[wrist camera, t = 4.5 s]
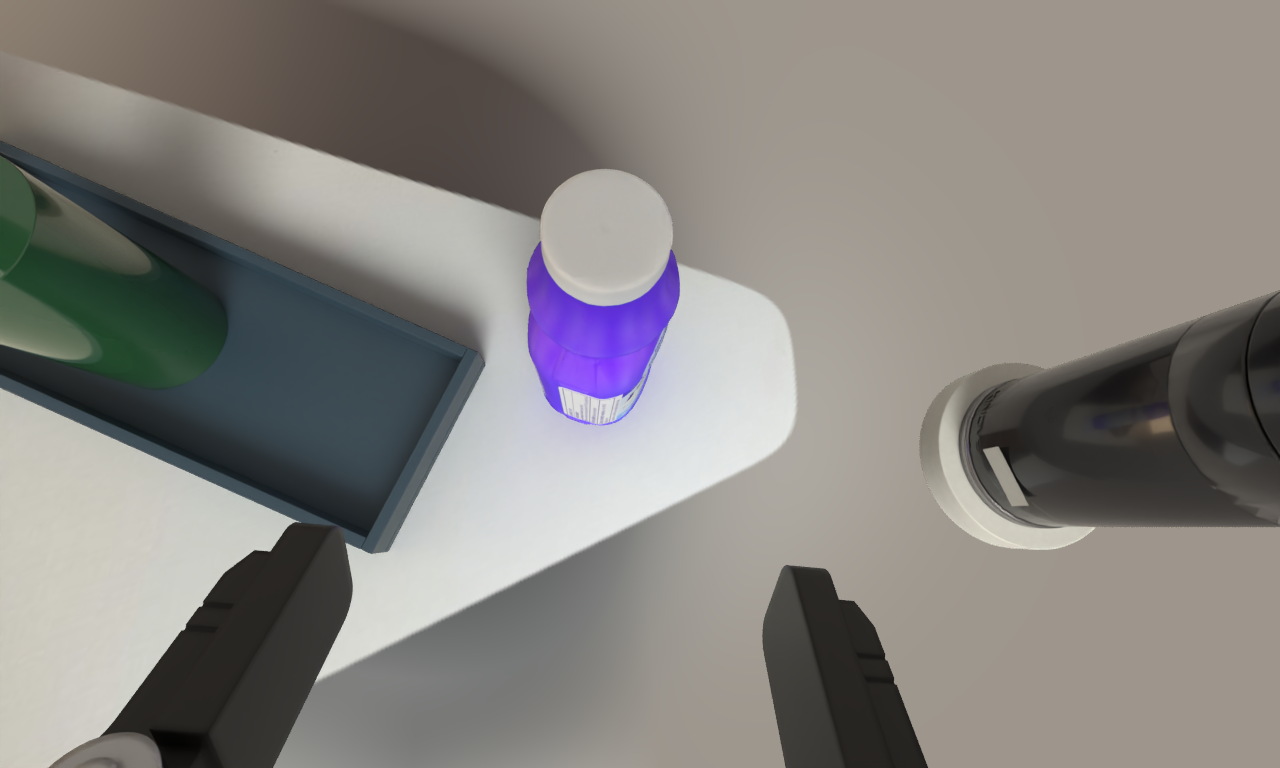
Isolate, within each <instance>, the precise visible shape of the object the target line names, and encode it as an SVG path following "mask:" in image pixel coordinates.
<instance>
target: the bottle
mask: <svg viewBox="0 0 1280 768" xmlns="http://www.w3.org/2000/svg"><path fill="white" fill-rule="evenodd" d="M540 237H541V241H540V243H539V244H538V246H537V247H536V249H535V250H534V253H533V255H532V257H531V259H530V262H529V266H528V268H527V296H528V300H529V305H530V309H531V310H530V314H529V323H528V348H529V352H530V356H531V358H532V361H533V363H534V365H535V368H536V371H537V374H538V376H539V379H540V382H541V385H542V388H543V392H544V395H545V397H546V399H547V400H548V402H549V403H550V405H551V406H552V407H553V408H554V409H555V410H557V411H558V412H560V413H562V414H564V415H565V416H566V417H567V418H569V419H572V420H575V421H578V422H581V423H584V424H595V425H608V424H612V423H615V422H617V421H619V420H621V419H622V418H623V417H624V416H626V415H627V414H628V413H629V411H630V410H631V409H632V408H633V407H634V405H635V403H636V402H637V400H638V398H639V397H640V395H641V392H642V390H643V388H644V386H645V383H646V381H647V378H648V375H649V372H650V368H651V364H652V362H653V360H654V359H655V356H656V354H657V352H658V350H659V348H660V346H661V343H662V341H663V338H664V335H665V332H666V329H667V325H668V323H669V321H670V319H671V317H672V316H673V314H674V312H675V309H676V307H677V303H678V300H679V295H680V282H679V272H678V267H677V263H676V259H675V255H674V253H673V251H672V250H671V246H672V241H673V224H672V219H671V216H670V213H669V210H668V208H667V206H666V204H665V202H664V200H663V199H662V197H661V196H660V195H659V194H658V192H657V191H656V190H655V189H654V188H653V187H652V186H651V185H649V184H648V183H647V182H645V181H644V180H642V179H640V178H639V177H637V176H635V175H633V174H630V173H627V172H624V171H620V170H614V169H596V170H590V171H585V172H583V173H580V174H577V175H575V176H573V177H571V178H569V179H568V180H567V181H565V182H564V183H562V184H561V185H560V186H559V187H558V188H557V189H556V190H555V191H554V192H553V194H552V195H551V196H550V198H549V199H548V201H547V202H546V204H545V207H544V209H543V212H542V216H541V221H540Z"/></svg>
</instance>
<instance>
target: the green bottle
mask: <svg viewBox="0 0 1280 768" xmlns="http://www.w3.org/2000/svg"><path fill="white" fill-rule="evenodd" d="M227 330H228V320H227V315H226V311H225V309H224V306H223V304H222V302H221V301H220V299H219V298H218V297H217V295H216V294H215V293H214V292H213V291H212V290H211V289H209V288H208V287H206V286H205V285H204V284H202V283H200V282H199V281H197V280H196V279H194V278H192V277H191V276H189V275H188V274H186V273H185V272H183V271H181V270H180V269H178V268H177V267H175V266H174V265H172V264H170V263H169V262H167V261H166V260H164V259H163V258H161V257H159V256H158V255H156V254H155V253H153V252H152V251H150V250H148V249H147V248H145V247H144V246H142V245H141V244H139V243H137V242H136V241H134V240H133V239H131V238H130V237H128V236H126V235H125V234H123V233H122V232H120V231H119V230H117V229H115V228H114V227H112V226H111V225H109V224H108V223H106V222H104V221H103V220H101V219H100V218H98V217H97V216H95V215H93V214H92V213H90V212H89V211H87V210H86V209H84V208H82V207H81V206H79V205H78V204H76V203H75V202H73V201H71V200H70V199H68V198H67V197H65V196H64V195H62V194H60V193H59V192H57V191H56V190H54V189H53V188H51V187H49V186H48V185H46V184H45V183H43V182H42V181H40V180H38V179H37V178H35V177H34V176H32V175H31V174H29V173H27V172H26V171H24V170H23V169H21V168H20V167H18V166H16V165H15V164H13V163H12V162H10V161H9V160H7V159H5V158H4V157H2V156H0V345H2V346H5V347H8V348H11V349H15V350H18V351H21V352H24V353H27V354H31V355H34V356H37V357H40V358H43V359H47V360H50V361H53V362H56V363H60V364H63V365H66V366H69V367H72V368H76V369H79V370H82V371H85V372H88V373H92V374H95V375H98V376H101V377H105V378H108V379H111V380H114V381H117V382H121V383H124V384H127V385H130V386H133V387H137V388H141V389H148V390H163V389H169V388H173V387H177V386H180V385H183V384H185V383H188V382H189V381H191V380H193V379H195V378H197V377H198V376H200V375H201V374H202V373H203V372H205V371H206V370H207V369H208V368H209V367H210V366H211V365H212V364H213V363H214V361H215V360H216V359H217V357H218V356H219V354H220V352H221V351H222V349H223V346H224V344H225V341H226V337H227Z"/></svg>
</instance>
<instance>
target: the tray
mask: <svg viewBox="0 0 1280 768" xmlns="http://www.w3.org/2000/svg"><path fill="white" fill-rule="evenodd" d="M0 156H2V157H4V158H5V159H7V160H9V161H10V162H12V163H13V164H15V165H16V166H18V167H20V168H21V169H23V170H24V171H26V172H27V173H29V174H31V175H32V176H34V177H35V178H37V179H38V180H40V181H42V182H43V183H45V184H46V185H48V186H49V187H51V188H53V189H54V190H56V191H57V192H59V193H60V194H62V195H64V196H65V197H67V198H68V199H70V200H71V201H73V202H75V203H76V204H78V205H79V206H81V207H82V208H84V209H86V210H87V211H89V212H90V213H92V214H93V215H95V216H97V217H98V218H100V219H101V220H103V221H104V222H106V223H108V224H109V225H111V226H112V227H114V228H115V229H117V230H119V231H120V232H122V233H123V234H125V235H126V236H128V237H130V238H131V239H133V240H134V241H136V242H137V243H139V244H141V245H142V246H144V247H145V248H147V249H148V250H150V251H152V252H153V253H155V254H156V255H158V256H159V257H161V258H163V259H164V260H166V261H167V262H169V263H170V264H172V265H174V266H175V267H177V268H178V269H180V270H181V271H183V272H185V273H186V274H188V275H189V276H191V277H192V278H194V279H196V280H197V281H199V282H200V283H202V284H204V285H205V286H206V287H208V288H209V289H211V290H212V291H213V292H214V293H215V294H216V295H217V297H218V298H219V299H220V301H221V302H222V304H223V306H224V309H225V311H226V315H227V320H228V330H227V337H226V341H225V344H224V346H223V349H222V351H221V352H220V354H219V356H218V357H217V359H216V360H215V361H214V363H213V364H212V365H211V366H210V367H209V368H208V369H207V370H206V371H205V372H203V373H202V374H201V375H200V376H198V377H197V378H195V379H193V380H191V381H189V382H188V383H185V384H183V385H180V386H177V387H173V388H169V389H163V390H148V389H141V388H137V387H133V386H130V385H127V384H124V383H121V382H117V381H114V380H111V379H108V378H105V377H101V376H98V375H95V374H92V373H88V372H85V371H82V370H79V369H76V368H72V367H69V366H66V365H63V364H60V363H56V362H53V361H50V360H47V359H43V358H40V357H37V356H34V355H31V354H27V353H24V352H21V351H18V350H15V349H11V348H8V347H5V346H2V345H0V388H2V389H4V390H6V391H8V392H11V393H13V394H15V395H17V396H20V397H22V398H24V399H26V400H28V401H31V402H33V403H35V404H37V405H40V406H42V407H44V408H46V409H49V410H51V411H53V412H55V413H57V414H60V415H62V416H64V417H66V418H69V419H71V420H73V421H75V422H78V423H80V424H82V425H84V426H87V427H89V428H91V429H93V430H95V431H98V432H100V433H102V434H104V435H107V436H109V437H111V438H113V439H116V440H118V441H120V442H122V443H124V444H127V445H129V446H131V447H133V448H136V449H138V450H140V451H142V452H145V453H147V454H149V455H151V456H153V457H156V458H158V459H160V460H162V461H165V462H167V463H169V464H171V465H174V466H176V467H178V468H180V469H183V470H185V471H187V472H189V473H191V474H194V475H196V476H198V477H200V478H203V479H205V480H207V481H209V482H212V483H214V484H216V485H218V486H220V487H223V488H225V489H227V490H229V491H232V492H234V493H236V494H238V495H241V496H243V497H245V498H247V499H250V500H252V501H254V502H256V503H258V504H261V505H263V506H265V507H267V508H270V509H272V510H274V511H276V512H279V513H281V514H283V515H285V516H287V517H290V518H292V519H294V520H296V521H299V522H301V523H310V524H321V525H332V526H339V527H341V528H342V530H343V533H344V538H345V542H346V543H348V544H350V545H352V546H354V547H357V548H359V549H362V550H363V551H366V552H368V553H370V554H373V553H381V552H388V551H389V549H390V547H391V545H392V543H393V541H394V539H395V538H396V536H397V534H398V532H399V530H400V528H401V526H402V524H403V522H404V520H405V518H406V516H407V514H408V513H409V511H410V509H411V507H412V505H413V503H414V501H415V499H416V497H417V495H418V493H419V491H420V489H421V488H422V486H423V484H424V482H425V480H426V478H427V476H428V474H429V472H430V470H431V468H432V466H433V465H434V463H435V461H436V459H437V457H438V455H439V453H440V451H441V449H442V447H443V445H444V443H445V441H446V440H447V438H448V436H449V434H450V432H451V430H452V428H453V426H454V424H455V422H456V420H457V418H458V416H459V415H460V413H461V411H462V409H463V407H464V405H465V403H466V401H467V399H468V397H469V395H470V393H471V392H472V390H473V388H474V386H475V384H476V382H477V380H478V378H479V376H480V374H481V372H482V370H483V368H484V367H485V363H484V362H483V360H482V358H481V357H480V355H479V353H478V352H477V351H475V350H472V349H470V348H467V347H465V346H463V345H461V344H459V343H456V342H454V341H452V340H450V339H447V338H445V337H443V336H441V335H438V334H436V333H434V332H432V331H429V330H427V329H425V328H423V327H420V326H418V325H416V324H413V323H411V322H409V321H407V320H404V319H402V318H400V317H398V316H395V315H393V314H391V313H389V312H386V311H384V310H382V309H380V308H377V307H375V306H373V305H371V304H368V303H366V302H364V301H362V300H359V299H357V298H355V297H352V296H350V295H348V294H346V293H343V292H341V291H339V290H337V289H334V288H332V287H330V286H328V285H325V284H323V283H321V282H319V281H316V280H314V279H312V278H310V277H307V276H305V275H303V274H300V273H298V272H296V271H294V270H291V269H289V268H287V267H285V266H282V265H280V264H278V263H276V262H273V261H271V260H269V259H267V258H264V257H262V256H260V255H258V254H255V253H253V252H251V251H249V250H246V249H244V248H242V247H239V246H237V245H235V244H233V243H230V242H228V241H226V240H224V239H221V238H219V237H217V236H215V235H212V234H210V233H208V232H206V231H203V230H201V229H199V228H197V227H194V226H192V225H190V224H188V223H185V222H183V221H181V220H178V219H176V218H174V217H172V216H169V215H167V214H165V213H163V212H160V211H158V210H156V209H154V208H151V207H149V206H147V205H145V204H142V203H140V202H138V201H136V200H133V199H131V198H129V197H126V196H124V195H122V194H120V193H117V192H115V191H113V190H111V189H108V188H106V187H104V186H102V185H99V184H97V183H95V182H93V181H90V180H88V179H86V178H84V177H81V176H79V175H77V174H75V173H72V172H70V171H68V170H65V169H63V168H61V167H59V166H56V165H54V164H52V163H50V162H47V161H45V160H43V159H41V158H38V157H36V156H34V155H32V154H29V153H27V152H25V151H23V150H20V149H18V148H16V147H14V146H11V145H9V144H7V143H4V142H2V141H0Z"/></svg>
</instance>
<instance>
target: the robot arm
mask: <svg viewBox="0 0 1280 768" xmlns="http://www.w3.org/2000/svg"><path fill="white" fill-rule="evenodd" d="M959 454H960V460H961V464H962V467H963V470H964V473H965V475H966V477H967V480H968V481H969V483H970V485H971V487H972V488H973V490H974V491H975V493H976V494H977V495H978V497H979V498H980V499H981V500H982V501H983V502H984V503H985V504H986V505H987V506H988V507H989V508H990V509H991V510H992V511H994V512H995V513H996V514H998V515H999V516H1001V517H1002V518H1004V519H1006V520H1008V521H1010V522H1012V523H1015V524H1017V525H1021V526H1024V527H1029V528H1039V529H1051V528H1062V527H1280V290H1279V291H1275V292H1273V293H1270V294H1267V295H1264V296H1261V297H1258V298H1255V299H1252V300H1249V301H1246V302H1243V303H1240V304H1237V305H1234V306H1232V307H1229V308H1226V309H1223V310H1220V311H1217V312H1214V313H1211V314H1209V315H1206V316H1203V317H1200V318H1197V319H1194V320H1191V321H1188V322H1185V323H1182V324H1179V325H1176V326H1173V327H1170V328H1167V329H1164V330H1161V331H1158V332H1155V333H1153V334H1150V335H1147V336H1144V337H1141V338H1138V339H1135V340H1132V341H1129V342H1126V343H1123V344H1120V345H1117V346H1114V347H1111V348H1108V349H1105V350H1102V351H1099V352H1097V353H1093V354H1091V355H1088V356H1084V357H1082V358H1079V359H1076V360H1073V361H1070V362H1067V363H1064V364H1061V365H1058V366H1055V367H1052V368H1049V369H1046V370H1043V371H1040V372H1037V373H1034V374H1031V375H1028V376H1025V377H1022V378H1019V379H1013V380H1009V381H1006V382H1003V383H1000V384H997V385H994V386H992V387H990V388H988V389H987V390H985V391H983V392H982V393H981V394H980V395H978V396H977V397H976V398H975V399H974V400H973V402H972V403H971V404H970V406H969V407H968V409H967V410H966V413H965V415H964V417H963V420H962V422H961V426H960V432H959ZM352 590H353V584H352V577H351V572H350V566H349V560H348V555H347V549H346V544H345V538H344V533H343V530H342V528H341V527H339V526H332V525H321V524H310V523H299V522H295V523H292V524H291V525H290V526H288V527H287V529H286V530H285V531H284V533H283V534H282V536H281V537H280V539H279V540H278V541H277V543H276V544H275V546H274V547H273V549H272V550H271V552H268V551H257V550H254V551H253V552H252V553H250V554H249V555H248V556H246V557H245V558H244V559H242V560H241V561H240V562H238V563H237V564H236V565H234V566H233V567H232V568H230V569H229V570H228V571H226V572H225V573H224V574H223V575H222V577H221V578H220V580H219V581H218V582H217V584H216V585H215V586H214V588H213V589H212V590H211V592H210V593H209V594H208V596H207V597H206V598H205V600H204V601H203V602H204V603H203V606H202V607H199V608H198V609H197V610H196V612H195V613H194V614H193V616H192V617H191V619H190V620H189V621H188V623H187V624H186V628H185V630H184V631H181V632H180V633H179V635H178V636H177V637H176V639H175V640H174V641H173V643H172V644H171V645H170V647H169V648H168V649H167V651H166V652H165V653H164V655H163V656H162V657H161V659H160V660H159V662H158V663H157V664H156V666H155V667H154V668H153V670H152V671H151V672H150V674H149V675H148V676H147V678H146V679H145V680H144V682H143V683H142V684H141V686H140V687H139V688H138V690H137V691H136V692H135V694H134V695H133V696H132V698H131V699H130V701H129V702H128V703H127V705H126V706H125V707H124V709H123V710H122V711H121V713H120V714H119V715H118V717H117V718H116V719H115V721H114V722H113V723H112V724H111V725H110V727H109V728H108V729H107V730H106V731H105V732H104V733H103V734H102V735H101V736H100V737H99V738H96V739H93V740H91V741H88V742H86V743H84V744H82V745H80V746H78V747H77V748H75V749H73V750H72V751H70V752H68V753H67V754H65V755H64V756H63V757H61V758H60V759H59V760H57V761H56V762H54V763H53V764H52V765H51V766H50V767H49V768H273V766H274V764H275V762H276V760H277V758H278V756H279V754H280V752H281V750H282V748H283V746H284V744H285V742H286V740H287V738H288V735H289V734H290V731H291V729H292V727H293V725H294V723H295V721H296V719H297V717H298V715H299V713H300V711H301V709H302V707H303V705H304V703H305V701H306V699H307V697H308V695H309V693H310V690H311V688H312V686H313V684H314V682H315V680H316V678H317V676H318V674H319V672H320V670H321V668H322V666H323V664H324V662H325V660H326V658H327V656H328V654H329V652H330V649H331V647H332V645H333V643H334V641H335V639H336V637H337V635H338V633H339V631H340V629H341V627H342V625H343V623H344V621H345V619H346V616H347V613H348V611H349V607H350V603H351V598H352ZM763 650H764V656H765V662H766V667H767V672H768V677H769V682H770V687H771V693H772V698H773V703H774V709H775V714H776V719H777V724H778V729H779V735H780V740H781V745H782V750H783V756H784V761H785V766H786V768H928V766H927V764H926V761H925V759H924V756H923V753H922V751H921V748H920V745H919V743H918V740H917V737H916V735H915V732H914V729H913V727H912V724H911V722H910V719H909V716H908V714H907V711H906V708H905V706H904V703H903V700H902V698H901V695H900V693H899V690H898V687H897V685H895V684H894V677H893V674H892V671H891V669H890V666H889V664H888V661H886V660H885V653H884V650H883V648H882V645H881V642H880V640H879V637H878V635H877V632H876V629H875V627H874V625H873V624H872V623H871V622H870V621H869V619H868V618H867V617H866V615H865V614H864V613H863V612H862V611H861V609H860V608H859V607H858V605H857V604H856V603H855V602H854V601H846V600H839V599H838V596H837V593H836V590H835V587H834V584H833V581H832V578H831V576H830V574H829V572H828V571H827V570H826V569H821V568H810V567H800V566H789V565H786V566H784V567H783V569H782V570H781V573H780V576H779V578H778V581H777V584H776V587H775V590H774V592H773V595H772V598H771V601H770V603H769V606H768V609H767V612H766V614H765V618H764V623H763Z"/></svg>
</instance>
